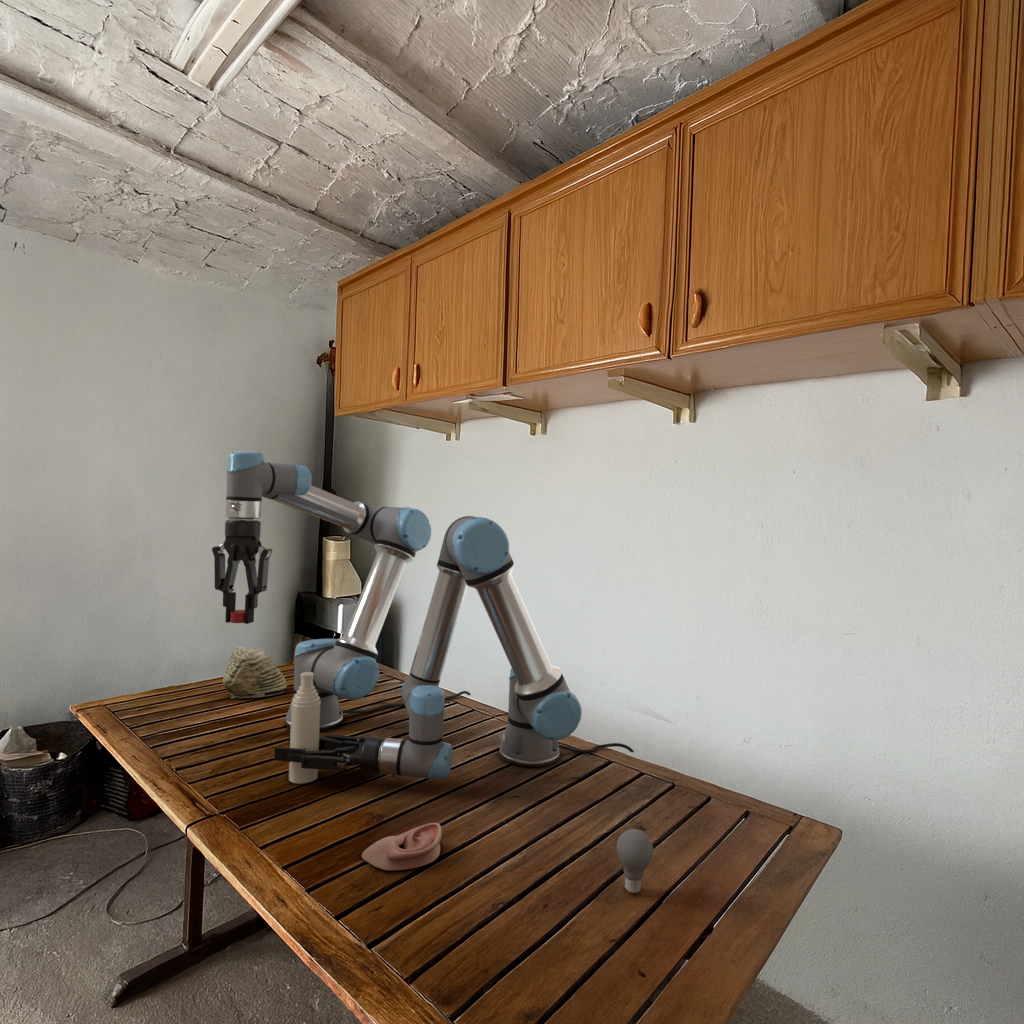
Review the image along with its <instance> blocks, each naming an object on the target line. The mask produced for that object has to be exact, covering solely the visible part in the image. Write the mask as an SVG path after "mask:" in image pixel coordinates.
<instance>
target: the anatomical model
mask: <svg viewBox="0 0 1024 1024" xmlns="http://www.w3.org/2000/svg"><path fill="white" fill-rule="evenodd" d="M442 835H443V829H442V826H441V824H440V823H439V822H430V823H425V824H422V825H419V826H417V827H414V828H412V829H410V830H407V831H404V832H402V833H399V834H397V835H389V836H385V837H383V838H381V839H379V840H377V841H375V842H373V843H372V844H370V845H369V846H368V847H367V848H366V849H364V851H362V852H361V853H362V854H361V858H362V859H363V861H365V862H366V863H368V864H370V865H371V866H373V867H375V868H377V869H379V870H384V871H387V872H389V871H390V872H391V871H403V870H412V869H416V868H419V867H423V866H426V865H428V864H431V863H433V862H434V861H435V860H437V859H439V856H440V855H441V844H440V842H441V839H442Z"/></svg>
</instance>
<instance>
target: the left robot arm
mask: <svg viewBox="0 0 1024 1024" xmlns="http://www.w3.org/2000/svg"><path fill="white" fill-rule="evenodd" d="M225 471H226V491H225V492H226V493H225V495H226V496H225V497H226V498H225V499H226V500H225V518H227V520H226V521H224V536H225V539H224V541H223V543H222V544H220V545H217V546H216V545H215V546H212V547H211V551H212V554H213V558H214V560H213V561H214V589H215V590H216V591H219V592H221V593H222V607H223V608H225V621H224V622H225V623H228V624H229V623H231V622H230V614H231V611H233V610H236V605H237V604H236V603H237V602H236V601H237V592H236V591H235V589H234V586H235V583H236V577H237V573H238V569H239V565H240V563H241V561H242V564H243V566H244V568H245V570H244V571H245V575H246V576H245V577H246V583H247V589H248V592H247V593H246V594H245V597H244V610H245V622H244V623H243V624H245V625H249V624H252V623H254V622H255V609H257V608H258V605H259V595H260V593H262V592H263V593H264V592H266V591H267V590H268V580H269V569H270V568H269V567H270V559H271V556H272V554H273V549H272V548H266V546H265V547H264V546H263V545H262V542H261V539H260V538H261V532H262V522H261V521H260V519H262V505H263V504H262V502H263V498H265V499H268V500H271V501H274V502H277V503H278V504H281V505H285V506H286V507H290V508H293V509H294V510H297V511H299V512H303V513H305V514H308V515H310V516H313V517H316V518H319V519H321V520H323V521H326V522H329V523H331V524H334V525H336V526H339V527H342V528H343V530H344V532H346V533H348V534H349V535H353V536H355V537H357V538H359V539H362V540H364V541H366V542H368V543H371V544H373V545H374V549H375V551H376V555H375V557H374V560H373V563H372V565H371V568H370V570H369V573H368V576H367V578H366V581H365V583H364V585H363V588H362V591H361V593H360V595H359V598H358V601H357V603H356V606H355V608H354V611H353V614H352V616H351V618H350V621H349V624H348V626H347V627H346V631H345V633H344V635H342V636H341V637H339V638H318V639H308V640H304V641H300V642H299V643H297V644H296V646H295V650H294V655H293V657H294V672H293V673H294V674H293V695H292V696H293V697H292V699H291V702H290V704H289V708H288V711H287V713H286V715H285V726H286V728H287V729H289V730H290V727H291V703H292V700H293V698H294V697H295V694H296V693H297V690H299V687H300V686H301V677H300V676H301V673H303V672H313V673H314V676H313V686H315V689H316V692H317V693H318V696H319V697H320V701H321V709H320V732H325V731H329V730H332V729H335V728H337V727H339V726H340V725H342V723H343V722H344V714H367V713H368V714H369V713H372V712H375V711H378V710H380V709H385V708H392V707H405V704H404V703H403V702H401V703H389V704H388V703H387V704H382V705H379V706H375V707H372V708H369V709H362V710H361V709H359V710H358V709H346V710H343V709H342V706H341V702H340V699H339V698H341V699H342V700H347V701H357V700H360V699H363V698H364V697H365V696H368V695H369V694H370V693H371V692H372V691H373V690H374V689H375V687H376V686H377V683H378V680H379V678H380V670H379V664H378V662H377V659H378V655H379V651H378V649H377V647H376V645H377V642H378V639H379V636H380V634H381V631H382V629H383V626H384V624H385V621H386V618H387V615H388V613H389V610H390V608H391V605H392V603H393V600H394V597H395V594H396V592H397V589H398V586H399V584H400V582H401V578H402V576H403V573H404V572H405V568H406V567H407V566H406V565H407V564H408V563H410V562H413V561H414V560H415V557H416V554H417V552H419V551H422V550H423V549H425V548H426V547H427V546H428V545H429V543H430V541H431V538H432V526H431V524H430V519H429V518H428V516H427V515H426V514H425V513H424V512H423V511H422V510H420V509H418V508H412V507H409V506H408V507H407V506H405V507H398V506H385V505H384V506H383V505H381V506H380V505H372V504H367V503H364V502H362V501H358V500H357V501H354V502H352V501H351V500H348V499H345V498H343V497H342V496H338V495H336V494H333V493H331V492H329V491H327V490H325V489H322V488H319V487H317V486H315V485H312V473H311V471H310V469H309V468H308V467H307V466H306V465H301V464H297V463H279V462H268V461H265V460H264V454H263V453H261V452H256V451H245V450H244V451H243V450H234V451H231V452H229V454H228V455H227V464H226V470H225ZM226 553H227V554H228V557H227V561H226ZM257 554H258V556H259V559H258V567H257V566H256V565H257V564H256V563H257V558H256V555H257ZM226 563H227V567H226ZM464 694H465V695H467V696H472V694H471V692H469V691H467V690H463V691H460V692H458V693H456V694H453V695H449V696H446V697H445V696H444V702H446V701H447V700H451V699H455V698H457V697H460V696H461V695H464Z"/></svg>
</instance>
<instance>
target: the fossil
mask: <svg viewBox="0 0 1024 1024" xmlns="http://www.w3.org/2000/svg"><path fill="white" fill-rule="evenodd" d="M222 676H223V677H222V685H223V687H224V688H225V690H226V691H228V693H229V698H230V699H250V698H264V697H271V696H275V695H281V694H284V693H285V691H286V689H287V687H288V686H287V680H286V678H285V676H284V674H283V673H282V672H281V669H279V668H278V667H277V665H276V663H275V662H274V660H273V659H272V658H271V657H270V656H269V655H268V654H267V653H266V652H265V650H264V649H263V648H260V647H258V648H251V647H247V646H246V647H245V646H238V647H237V648H236V649H235V650H233V651H232V653H231V656H230V657H229V659H228V660H227V663H226V666H225V668H224V671H223V675H222Z"/></svg>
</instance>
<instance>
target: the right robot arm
mask: <svg viewBox="0 0 1024 1024" xmlns="http://www.w3.org/2000/svg"><path fill="white" fill-rule="evenodd" d="M443 535H444V536H443V539H442V544H441V548H440V552H439V556H438V559H437V564H436V567H437V569H438V575H437V578H436V581H435V584H434V589H433V592H432V595H431V599H430V602H429V606H428V609H427V612H426V615H425V619H424V622H423V627H422V629H421V632H420V636H419V640H418V642H417V643H418V644H417V646H416V650H415V653H414V656H413V660H412V663H411V667H410V671H409V674H408V677H407V679H406V680H405V682H404V683H403V685H402V686H401V701H402V703H404V704H405V706H404V707H405V711H406V713H407V716H408V721H409V722H408V739H404V738H394V737H393V738H391V737H386V738H385V739H384V738H383V737H377V736H368V737H366V736H349V735H341V734H333V733H332V734H331V733H324V736H323V735H321V736H319V751H305V748H303V749H297V748H290V735H288V747H285V746H275V747H274V758H273V759H274V761H278V762H287V763H289V762H300V763H301V768H307V769H318V770H328V771H329V770H330V771H338V772H343V773H345V772H346V771H347V767H353V766H359V767H360V770H361V772H362V773H363V774H372V775H373V774H375V775H378V774H379V773H380V774H381V775H387V776H388V775H389V776H392V777H393V778H394V777H398V776H400V777H410V778H419V779H426V780H443V779H447V778H448V776H449V775H450V773H451V769H452V765H453V753H454V752H453V746H452V744H451V743H449V742H446V741H444V718H445V708H446V701H444V698H445V692H444V689H442V688H441V687H439V686H440V683H441V678H442V675H443V672H444V668H445V666H446V661H447V658H448V655H449V651H450V647H451V644H452V641H453V638H454V634H455V631H456V627H457V624H458V620H459V616H460V614H461V610H462V606H463V603H464V600H465V596H466V593H467V590H468V587H469V588H472V589H475V590H476V592H477V594H478V596H479V598H480V601H481V603H482V606H483V607H484V610H485V612H486V614H487V616H488V618H489V620H490V623H491V625H492V627H493V629H494V632H495V634H496V636H497V638H498V640H499V643H500V645H501V647H502V649H503V652H504V654H505V657H506V658H507V660H508V663H509V665H510V667H511V668H510V671H509V677H508V681H509V684H508V685H509V686H508V688H509V689H508V709H507V724H506V727H505V730H504V731H503V733H502V735H501V741H500V743H499V751H498V752H499V753H498V754H499V757H500V758H501V759H502V760H504V761H505V762H507V763H509V764H511V765H514V766H519V767H526V768H540V767H541V768H542V767H547V766H550V765H553V764H556V762H558V761H559V759H560V754H561V752H560V749H562V750H566V751H570V752H572V753H577V754H591V753H593V752H595V751H596V750H599V749H605V748H613V747H619V748H624V749H626V750H628V751H629V752H630V753H635V750H634V749H633V748H631V747H630V746H628V745H627V744H625V743H620V742H613V743H611V742H610V743H603V744H597V745H595V746H593V747H592V748H588V749H577V748H573V747H570V746H566V745H563V744H559V741H561V740H564V739H566V738H568V737H569V736H571V735H572V734H573V733H574V732H575V731H576V730H577V729H578V727H579V724H580V722H581V719H582V716H583V715H582V713H583V712H582V711H583V710H582V704H581V702H580V701H579V699H578V697H577V695H575V694H574V693H573V692H572V691H571V690H570V688H569V686H568V684H567V681H566V679H565V677H564V675H563V673H562V670H561V668H560V667H558V666H555V665H552V664H551V661H550V659H549V656H548V654H547V652H546V650H545V647H544V645H543V643H542V641H541V638H540V636H539V634H538V632H537V630H536V627H535V624H534V622H533V620H532V617H531V616H530V612H529V611H528V608H527V605H525V602H524V600H523V597H522V595H521V592H520V591H519V588H518V585H517V584H516V582H515V579H514V577H513V574H512V573H513V571H514V568H515V562H514V560H513V557H512V555H511V553H510V541H509V537H508V536H507V533H506V531H505V530H504V529H503V528H502V526H500V525H499V524H498V523H497V522H495V521H494V520H492V519H489V518H487V517H481V516H480V517H479V516H473V515H466V516H461V517H458V518H457V519H455V520H454V521H453V522H451V523H450V524H449V526H448V527H447V528H446V531H445V533H444V534H443Z"/></svg>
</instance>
